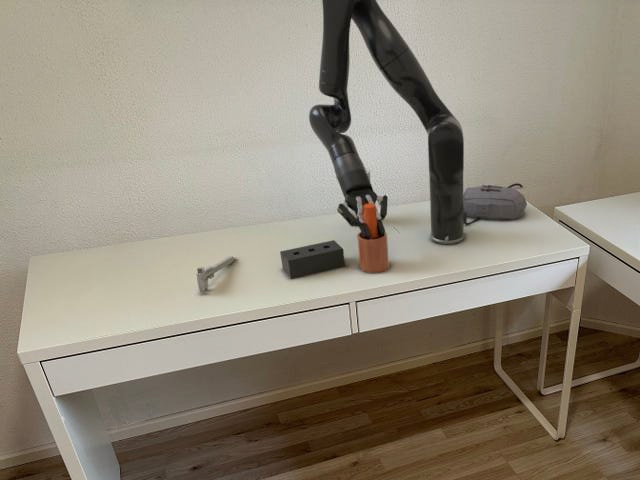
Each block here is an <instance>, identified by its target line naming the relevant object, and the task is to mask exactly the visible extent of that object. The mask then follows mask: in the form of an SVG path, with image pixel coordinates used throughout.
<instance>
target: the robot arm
mask: <svg viewBox="0 0 640 480" xmlns="http://www.w3.org/2000/svg"><path fill="white" fill-rule="evenodd" d="M321 1H322V2H321V3H322V41H321V53H320V63H319V77H318V91H320V92H319V93H321V94H322V95H323V96H326V97H329V98H333V104H315V105H313V106H312V107H311V108H310V109H309V113H308V121H309V125H310V128H311V129H312V131H313V133H314V134H315V136H316V137H317V138H318V140H319V141H320V143H321V144H322V145H323V147H324V148H325V149H326V151H327V153H328V156H329V158H330V160H331V163H332V166H333V171H334V173H335V178H336V180H337V181H338V184H339V187H340V191H341V192H342V195H343V197H344V201H343V202H341V203H339V204H338V206H337V208H336V210H337V212H338V214H340V216H341V217H342V218H343V219H344V220H345V221H346V222H347V223H348V224H349V225H350V226H351V227H358V228H359V231H360V232H361V233H362V236H363V237H364V238H366V239H367V240H369V239H370V237H371V235H370V232H369V230H368V227H367V224H366V223H364V222H365V221H364V216H363V213H364V205H365V204H369V203H371V204H375V205H376V202H377V203H378V205H379V206H380V208H379V210H380V211H378V208H377V206H376V216H377V228H378V235H379V237H383V235H384V232H386V229H385V227H384V224H383V221H385V219H386V217H387V215H388V202H389V201H388V198H389V197H388V196H387V195H386V194H383V196H382V195H378V194H377V193H376V192H375V191H374V189H373V188H374V187H373V186H372V183H371V179H370V180H369V178H368V175H367V172H366V170H365V168H366V167H365V165H364V163H363V161H362V158H361V157H360V154H359V151H358V150H357V146H356V144H355V142H354V140H353V138H352V137H351V136H349V135H347V134H345V133H346V132H348V131H349V129H350V127H351V125H352V114H351V107H350V102H349V94H348V86H349V77H350V57H351V56H350V55H351V54H350V33H351V32H350V31H351V22H352V21H353V23H354V24H355V26H356V27H357V29H358V30H359V33H360V35H361V37H362V40H363V41H364V44H365V46H366V48H367V51H368V52H369V55H370V57H371V59H372V61H373V62H374V65H376V68H377V69H378V71H379V72H380V73H381V74H382V77H383V78H384V79H385V80H386V82H387V83H388V85H389V86H390V87H391V88H392V89H393V90H394V91H395V93H397V95H398V96H399V97H400V98H401V99H402V100H403V101H405V103H407V105H408V106H410V108H411V109H412V110H413V111H414V113H415V114H416V116H417V117H418V119H419V121H420V123H421V124H422V126H423V128H424V130H425V132H426V134H427V152H428V153H427V155H428V157H427V158H428V173H429V174H428V176H429V177H428V178H429V179H428V180H429V206H430V208H429V210H430V239H431V241H432V242H434V243H436V244H440V245H455V244H458V243H461V242H462V241H463V240H464V239H465V228H464V227H465V226H470V225H471V224H474V223H476V222H477V221H479V220H481V219H480V217H478V218H475V219H473V220H472V221H470V222H468V216H467V212H464V204H463V195H464V169H465V166H464V164H465V162H464V161H465V158H464V157H465V156H464V155H465V140H464V139H465V138H464V130H463V127H462V125H461V123H460V121H459V119H457V118H456V117H455V115H454V114H453V112H451V111H450V110H449V108H448V107H447V106H446V104H445V103H444V102H443V101H442V99H441V98H440V97H439V94H437V92H436V90H435V89H434V87H433V85H432V83H431V81H430V79H429V77H428V76H427V74H426V72H425V71H424V68H423V67H422V65H421V64H420V61H419V60H418V58H417V57H416V55H415V54H414V52H413V51H412V49H411V48H410V46H409V44H408V43H407V42H406V40H405V39H404V37H403V36H402V35H401V33H400V32H399V31H398V29H397V28H396V26H395V25H394V24H393V23H392V22H391V19H389V17H388V16H387V14H386V13H385V12H384V10H382V8H381V6H380V5H379V3H378V1H377V0H321ZM517 186H519V187H520V188H523V187H524V186H523V185H522V184H521V183H518V182H517V183H513V184H510V185H508V186H507V187H508V188H511V189H512V188H513V187H517ZM347 206H348V207H349V208H350V209H352V210H353V211H354V212H355V216H356V218H355V217H354V216H353V214H352V213H351V212H350V211H349V210H348V207H347Z"/></svg>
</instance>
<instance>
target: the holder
mask: <svg viewBox="0 0 640 480" xmlns="http://www.w3.org/2000/svg"><path fill="white" fill-rule="evenodd" d="M279 254H280V261H281V266H282V270H283V271H284V273H285V274H286V275H287V276H288V277H289V278H290V279H291V280H292V279H296V278H301V277H305V276H310V275H314V274H318V273H323V272H326V271H332V270H335V269H339V268H344V267H346V263H345V253H344V248H343V247H342V246H341V245H340V244H339V243H337V242H336V241H335V240H334V239H333V240H329V241H324V242H319V243H313V244H308V245H305V246H300V247H295V248H289V249H286V250H281V251H279Z"/></svg>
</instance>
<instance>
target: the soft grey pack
mask: <svg viewBox="0 0 640 480" xmlns="http://www.w3.org/2000/svg"><path fill="white" fill-rule="evenodd" d="M463 204H464V212H467V217H469V218H473V219H474V218H475V219H476V218H478V217H480V219H479V220H489V221H492V220H493V221H494V220H495V221H497V220H498V221H500V220H514V219H517V218H521V217H522V216H523V215H524V214H525V210H526V208H527V206H528V203H527V200H526V197H525V195H524V194H523V193H522V192H520V191H519V190H517V189H514V188H512V187H511V188H508V186H500V185H499V186H498V185H491V184H489V185H486V184H485V185H484V184H482V185H479V186H473V187H467V188H466V189H465V191H463Z"/></svg>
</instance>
